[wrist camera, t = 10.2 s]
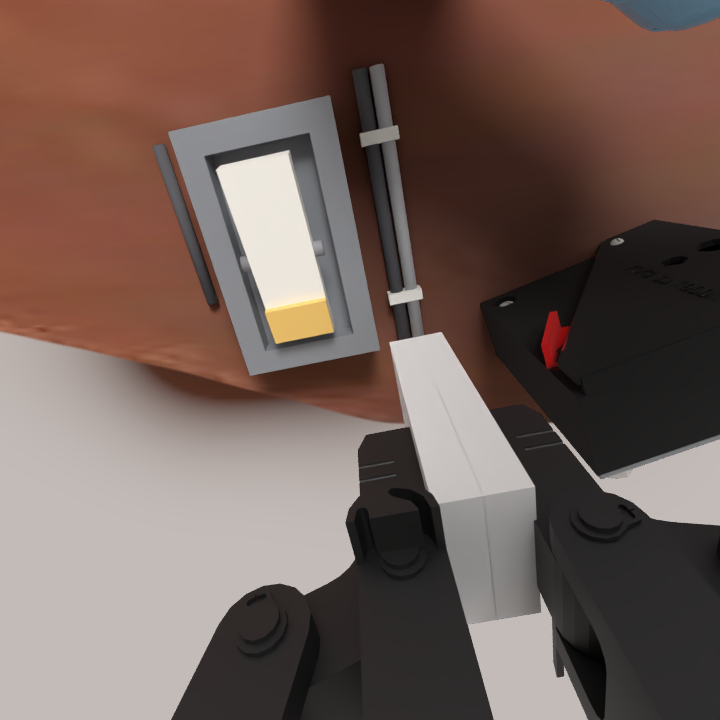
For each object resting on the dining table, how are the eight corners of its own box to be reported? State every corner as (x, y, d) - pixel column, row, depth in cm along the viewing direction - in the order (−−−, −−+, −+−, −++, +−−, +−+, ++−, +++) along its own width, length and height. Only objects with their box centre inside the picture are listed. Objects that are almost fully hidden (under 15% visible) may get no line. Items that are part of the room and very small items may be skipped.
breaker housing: (191, 138, 37) (164, 132, 31) (332, 106, 36) (330, 95, 31) (259, 351, 45) (247, 376, 39) (375, 327, 44) (380, 350, 39)
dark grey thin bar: (155, 146, 37) (150, 146, 36) (166, 144, 37) (161, 143, 36) (209, 302, 43) (206, 305, 42) (219, 300, 42) (216, 303, 42)
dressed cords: (348, 74, 35) (348, 70, 34) (386, 65, 35) (388, 61, 34) (396, 342, 45) (397, 347, 44) (426, 336, 45) (429, 341, 43)
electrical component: (501, 371, 47) (603, 500, 28) (474, 286, 43) (571, 372, 25) (666, 308, 44) (892, 404, 26) (652, 212, 41) (907, 246, 22)
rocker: (210, 167, 30) (203, 174, 29) (299, 147, 30) (298, 153, 28) (271, 334, 38) (268, 347, 37) (341, 319, 38) (342, 332, 36)
